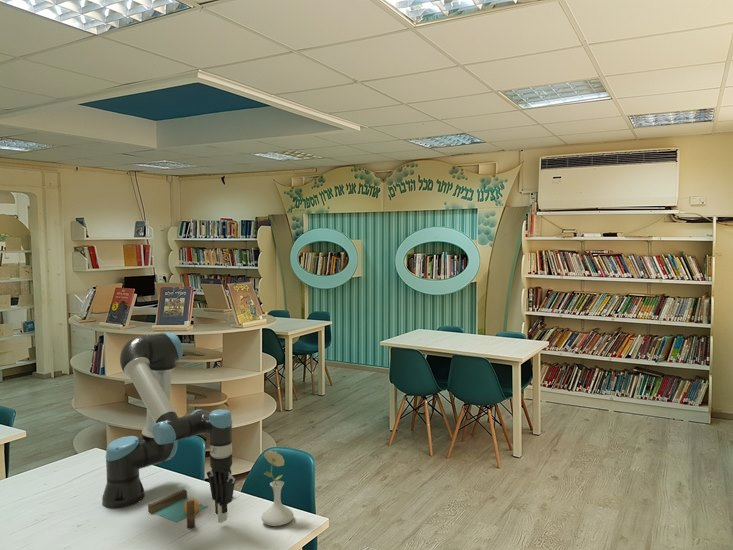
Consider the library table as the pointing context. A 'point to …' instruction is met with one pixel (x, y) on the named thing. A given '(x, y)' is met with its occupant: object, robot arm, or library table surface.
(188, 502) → the post
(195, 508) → the ball
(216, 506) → the post
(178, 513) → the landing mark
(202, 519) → the library table surface
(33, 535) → the library table surface
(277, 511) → the flower in vase
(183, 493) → the stopper wall
